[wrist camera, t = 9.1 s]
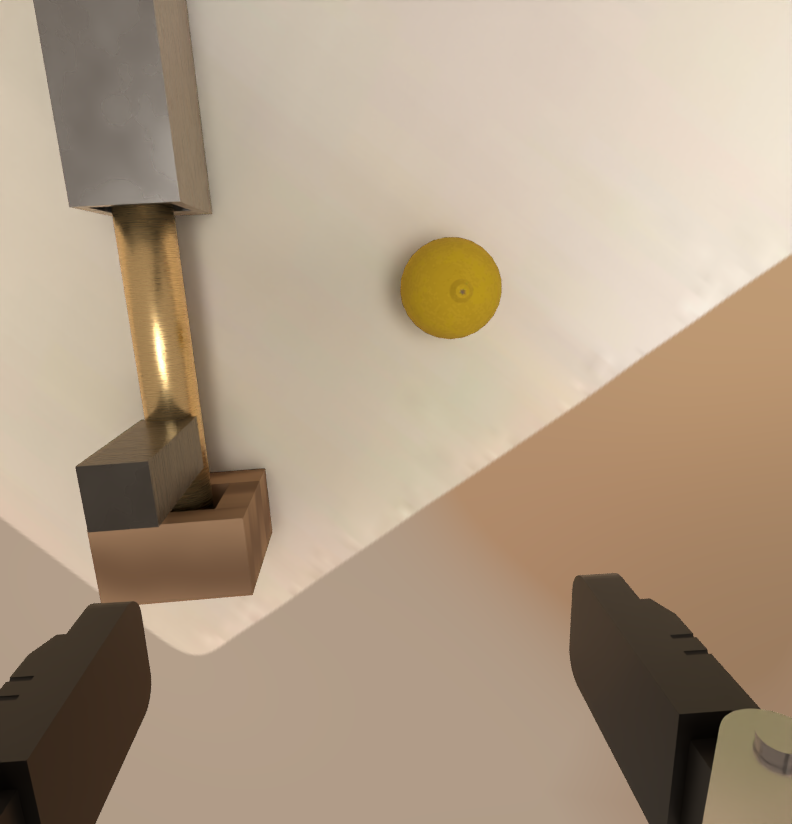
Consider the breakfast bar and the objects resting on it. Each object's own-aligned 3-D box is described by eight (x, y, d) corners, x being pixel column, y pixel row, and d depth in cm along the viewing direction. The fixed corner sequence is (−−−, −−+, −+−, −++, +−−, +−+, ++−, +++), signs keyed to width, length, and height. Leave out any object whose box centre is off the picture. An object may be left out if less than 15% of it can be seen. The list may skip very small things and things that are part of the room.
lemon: (379, 301, 37) (385, 309, 29) (427, 222, 36) (447, 209, 29) (452, 347, 38) (477, 367, 30) (501, 272, 37) (540, 273, 30)
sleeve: (82, -36, 32) (13, -114, 25) (181, -39, 32) (137, -117, 26) (122, 218, 35) (69, 206, 29) (212, 213, 35) (180, 201, 29)
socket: (140, 477, 39) (86, 530, 31) (265, 468, 39) (242, 518, 31) (151, 541, 40) (101, 607, 32) (272, 532, 40) (252, 594, 32)
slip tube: (114, 155, 32) (2, 102, 22) (175, 152, 32) (92, 98, 22) (173, 535, 37) (105, 634, 27) (225, 531, 37) (177, 628, 27)
